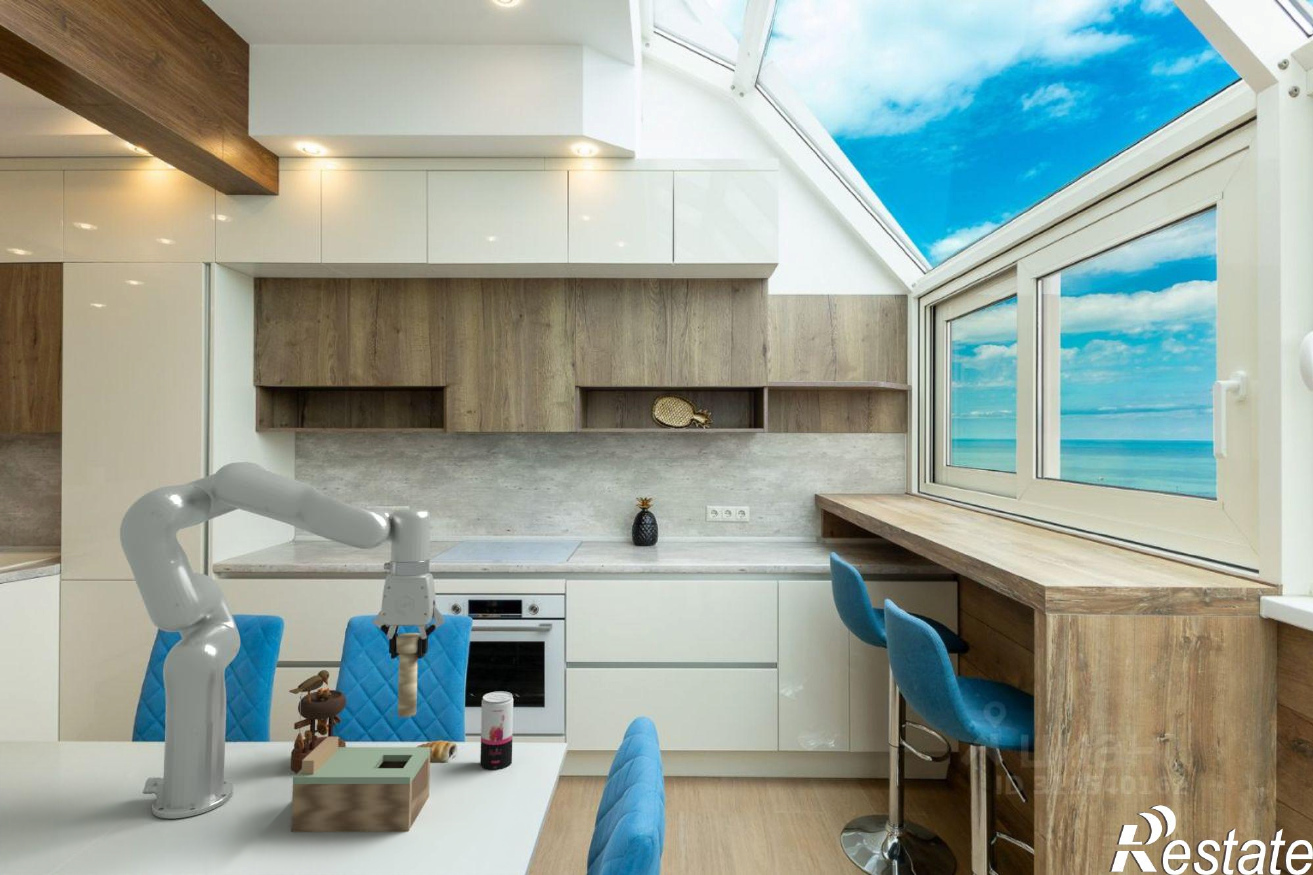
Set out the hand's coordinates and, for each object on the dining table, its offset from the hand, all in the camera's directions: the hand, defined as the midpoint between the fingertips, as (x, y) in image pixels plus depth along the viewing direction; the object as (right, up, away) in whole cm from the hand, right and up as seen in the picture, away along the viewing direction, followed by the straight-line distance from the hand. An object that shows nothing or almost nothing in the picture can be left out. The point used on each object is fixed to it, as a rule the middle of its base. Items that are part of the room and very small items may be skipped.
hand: (408, 655), depth 139 cm
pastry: (+3, -25, +8) cm, 27 cm away
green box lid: (-2, -15, -17) cm, 23 cm away
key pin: (0, -12, 0) cm, 12 cm away
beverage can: (+17, -25, +4) cm, 31 cm away
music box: (-21, -25, +5) cm, 33 cm away
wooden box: (-2, -24, -17) cm, 29 cm away
